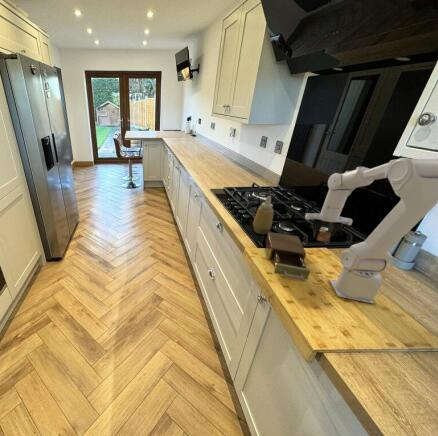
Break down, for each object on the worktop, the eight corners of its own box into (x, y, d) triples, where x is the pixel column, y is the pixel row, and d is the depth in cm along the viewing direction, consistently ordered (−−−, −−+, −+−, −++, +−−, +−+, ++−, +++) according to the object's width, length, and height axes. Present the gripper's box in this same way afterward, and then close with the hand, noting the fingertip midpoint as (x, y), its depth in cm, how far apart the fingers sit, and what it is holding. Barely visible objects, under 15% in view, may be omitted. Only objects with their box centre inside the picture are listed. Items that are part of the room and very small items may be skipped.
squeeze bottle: (270, 230, 115) (280, 195, 107) (268, 237, 108) (278, 201, 100) (253, 226, 118) (261, 192, 110) (249, 232, 112) (258, 197, 104)
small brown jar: (323, 236, 94) (326, 228, 92) (327, 242, 90) (331, 234, 88) (313, 234, 95) (316, 226, 93) (317, 240, 91) (320, 232, 89)
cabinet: (301, 266, 89) (306, 253, 87) (268, 260, 93) (272, 248, 90) (294, 247, 101) (298, 236, 99) (265, 242, 104) (268, 231, 102)
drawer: (310, 287, 78) (314, 278, 76) (275, 280, 81) (278, 272, 79) (299, 259, 92) (301, 251, 90) (270, 254, 95) (272, 246, 93)
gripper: (352, 204, 88) (338, 236, 94) (307, 199, 92) (297, 230, 98) (360, 212, 82) (345, 245, 88) (312, 206, 86) (301, 238, 92)
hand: (320, 237), depth 92 cm, fingers closed on small brown jar, 3 cm apart
